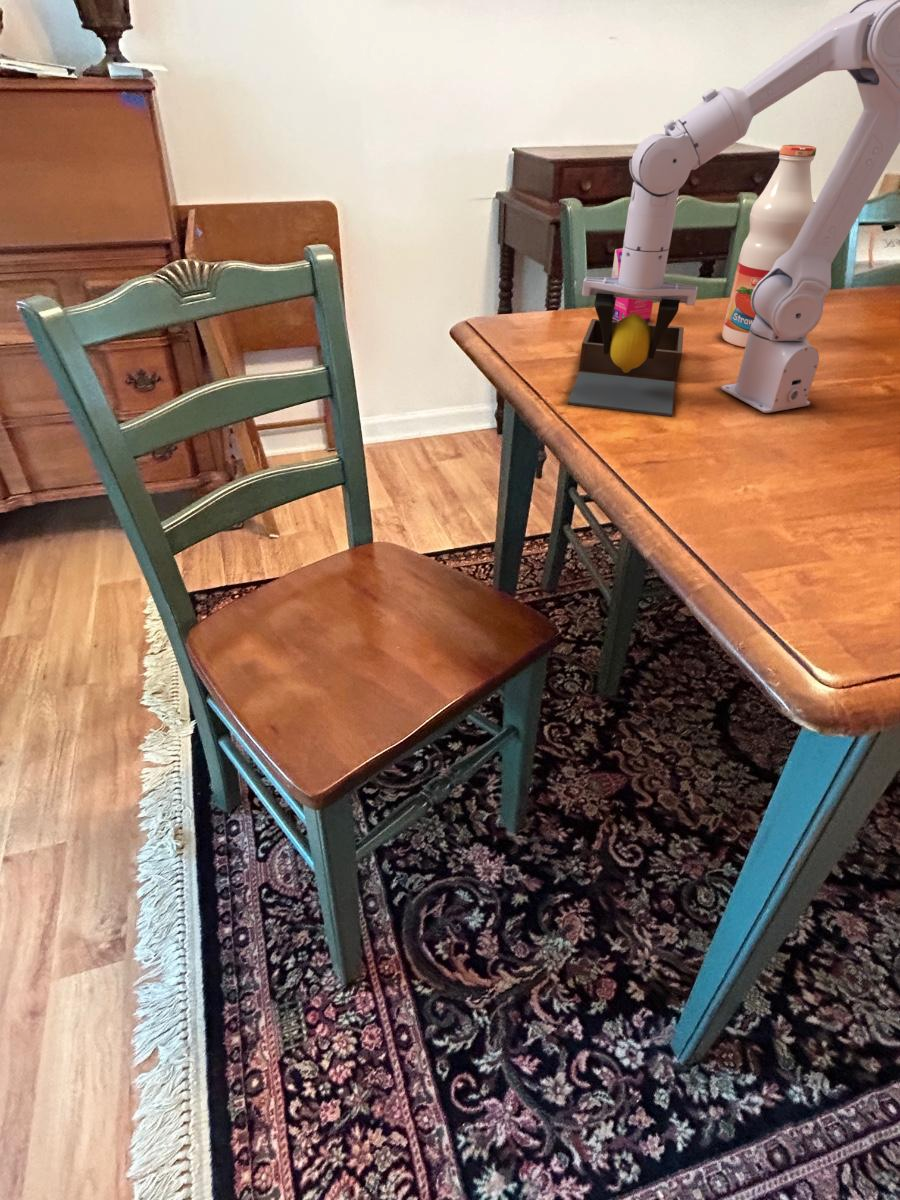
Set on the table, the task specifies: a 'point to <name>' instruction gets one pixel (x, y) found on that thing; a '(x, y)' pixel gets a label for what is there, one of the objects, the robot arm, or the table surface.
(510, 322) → the table surface
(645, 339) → the lemon
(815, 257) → the robot arm
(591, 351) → the dark brown shallow box
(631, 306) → the supplement box
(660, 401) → the placemat
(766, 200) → the fruit juice
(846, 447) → the table surface
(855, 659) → the table surface
